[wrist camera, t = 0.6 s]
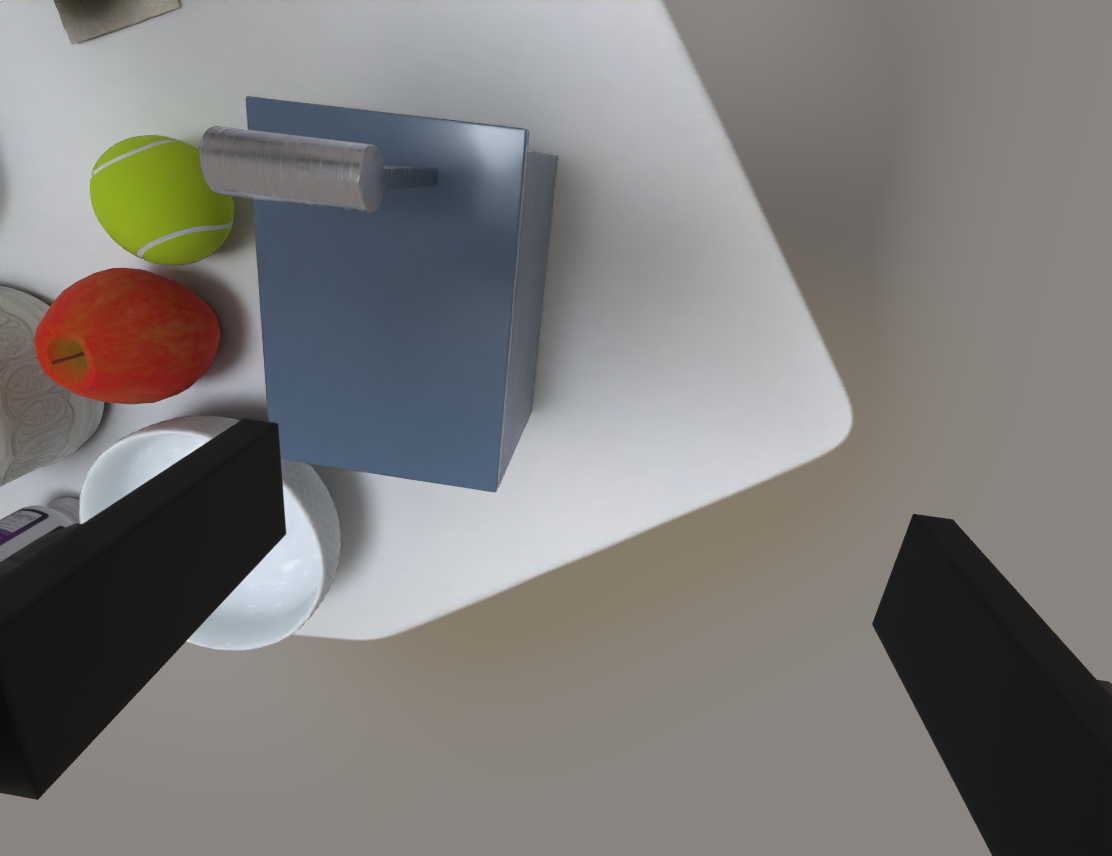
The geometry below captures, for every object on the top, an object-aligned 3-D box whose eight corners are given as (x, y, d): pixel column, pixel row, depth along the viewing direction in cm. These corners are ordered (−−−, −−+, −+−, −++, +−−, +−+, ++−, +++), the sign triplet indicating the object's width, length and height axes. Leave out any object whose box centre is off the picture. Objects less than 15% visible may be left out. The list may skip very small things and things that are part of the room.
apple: (237, 263, 41) (111, 292, 31) (252, 384, 44) (143, 445, 35) (118, 253, 42) (-41, 279, 32) (142, 373, 45) (3, 430, 35)
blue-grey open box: (358, 132, 37) (257, 118, 27) (557, 156, 37) (528, 151, 27) (361, 386, 44) (278, 451, 33) (531, 411, 43) (499, 485, 33)
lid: (255, 97, 27) (78, 64, 18) (529, 129, 26) (478, 110, 18) (277, 451, 33) (154, 548, 25) (499, 485, 33) (450, 598, 24)
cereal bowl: (322, 374, 43) (267, 410, 37) (395, 578, 49) (358, 640, 43) (112, 413, 47) (27, 453, 40) (203, 600, 52) (141, 662, 46)
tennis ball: (277, 231, 40) (209, 243, 34) (191, 273, 42) (110, 292, 35) (217, 118, 38) (131, 108, 32) (128, 167, 40) (30, 166, 33)
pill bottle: (-27, 640, 43) (87, 559, 52) (8, 600, 41) (121, 523, 50) (-97, 586, 42) (32, 514, 51) (-64, 543, 40) (64, 475, 49)
